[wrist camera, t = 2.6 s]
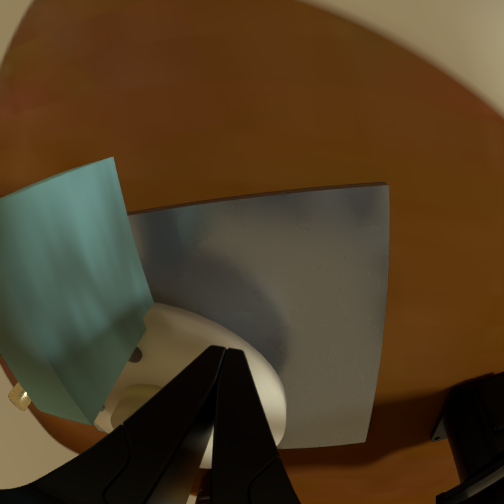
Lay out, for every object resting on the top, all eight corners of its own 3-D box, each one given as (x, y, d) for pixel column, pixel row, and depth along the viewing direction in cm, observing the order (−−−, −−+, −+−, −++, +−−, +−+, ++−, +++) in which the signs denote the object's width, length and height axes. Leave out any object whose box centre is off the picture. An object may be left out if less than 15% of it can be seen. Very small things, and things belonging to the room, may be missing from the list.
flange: (293, 455, 16) (288, 541, 11) (121, 441, 18) (93, 507, 13) (247, 128, 9) (190, 149, 4) (-1, 195, 11) (-96, 246, 6)
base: (364, 435, 19) (372, 505, 14) (101, 425, 23) (75, 476, 17) (384, 181, 12) (447, 234, 7) (2, 238, 16) (-62, 282, 10)
